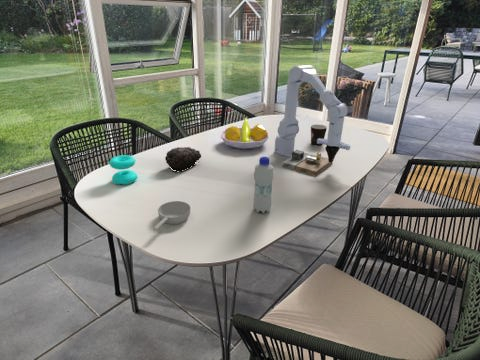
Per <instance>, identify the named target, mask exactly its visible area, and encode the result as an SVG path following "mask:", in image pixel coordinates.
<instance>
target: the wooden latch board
mask: <svg viewBox="0 0 480 360" xmlns="http://www.w3.org/2000/svg"><path fill="white" fill-rule="evenodd" d="M306 156H310V157H315V158H316V156H317V154H312V153H307V152H304V158H300V160H295V159H292V156H290V157H288V158H287V159H286V160H283V161H282V164H281V165H282V167H283V168H287V169H291V170H295V171H297V172H298V171H299V172H301V173H305V174H308V175H312V176H316V177H317V175H319V174H320V173H322V172H323V171H324V170H325V169H327V168H328V167H330V166H331V165H332V164H333V162H332V163H331V162H329V161H328V157H324V156H321V163H320V164H317V163H314V164H310V163H307V161H306V160H305V158H306Z"/></svg>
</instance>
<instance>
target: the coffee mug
mask: <svg viewBox="0 0 480 360" xmlns="http://www.w3.org/2000/svg"><path fill="white" fill-rule="evenodd" d="M327 128H328V126H326V125H325V124H318V123H316V124H311V125H310V145H312V146H314V147H321V145H322V146H323V145H324V144H317V139H319V138H320V139H325V137H326V132H327V130H328V129H327Z"/></svg>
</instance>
